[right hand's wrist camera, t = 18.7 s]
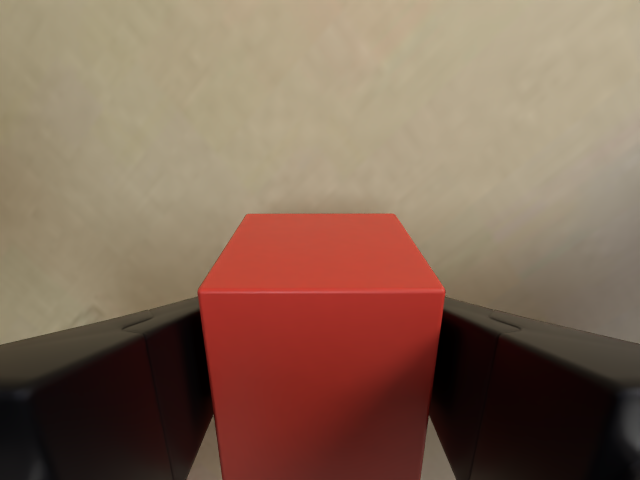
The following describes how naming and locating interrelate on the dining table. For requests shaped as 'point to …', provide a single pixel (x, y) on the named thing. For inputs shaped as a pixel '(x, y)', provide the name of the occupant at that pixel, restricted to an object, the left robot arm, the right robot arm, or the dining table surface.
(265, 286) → the red cube
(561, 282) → the dining table surface
